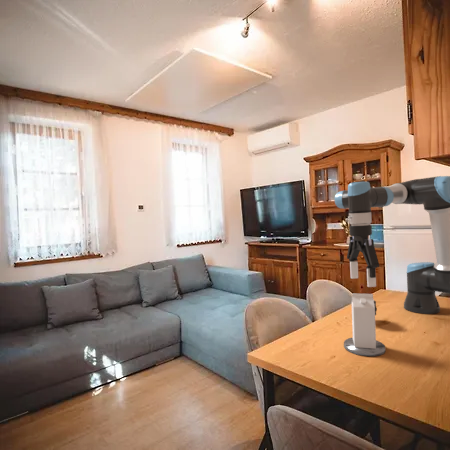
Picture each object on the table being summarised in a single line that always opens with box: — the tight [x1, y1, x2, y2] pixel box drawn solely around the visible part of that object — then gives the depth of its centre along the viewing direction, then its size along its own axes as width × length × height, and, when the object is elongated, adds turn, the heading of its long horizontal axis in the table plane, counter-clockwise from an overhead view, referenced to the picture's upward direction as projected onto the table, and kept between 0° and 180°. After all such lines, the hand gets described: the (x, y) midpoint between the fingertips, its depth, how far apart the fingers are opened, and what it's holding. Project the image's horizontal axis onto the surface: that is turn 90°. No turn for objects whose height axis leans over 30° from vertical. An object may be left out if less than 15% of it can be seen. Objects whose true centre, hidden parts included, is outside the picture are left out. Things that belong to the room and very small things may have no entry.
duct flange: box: [343, 337, 386, 358], centre depth 116 cm, size 14×14×1 cm
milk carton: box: [351, 293, 377, 349], centre depth 116 cm, size 7×7×19 cm
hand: (362, 282), depth 115 cm, fingers open, 13 cm apart
